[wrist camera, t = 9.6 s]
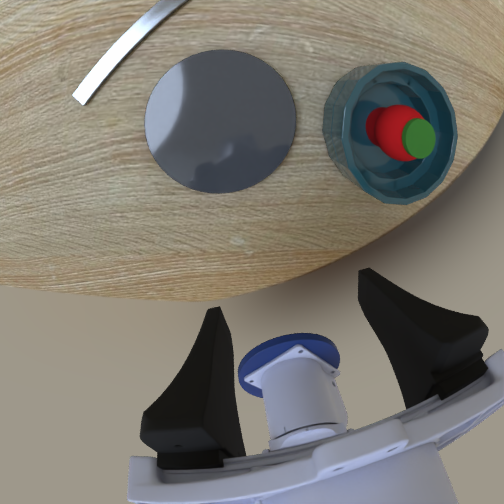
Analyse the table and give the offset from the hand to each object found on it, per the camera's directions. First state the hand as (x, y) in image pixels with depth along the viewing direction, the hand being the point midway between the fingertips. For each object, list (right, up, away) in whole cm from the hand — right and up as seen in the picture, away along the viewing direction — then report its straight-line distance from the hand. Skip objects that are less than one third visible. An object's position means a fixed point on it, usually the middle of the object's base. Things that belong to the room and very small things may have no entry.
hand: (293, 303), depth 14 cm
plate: (-4, +11, +4) cm, 13 cm away
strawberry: (+8, +12, +4) cm, 15 cm away
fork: (-7, +19, -1) cm, 21 cm away
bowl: (+8, +12, +5) cm, 15 cm away
